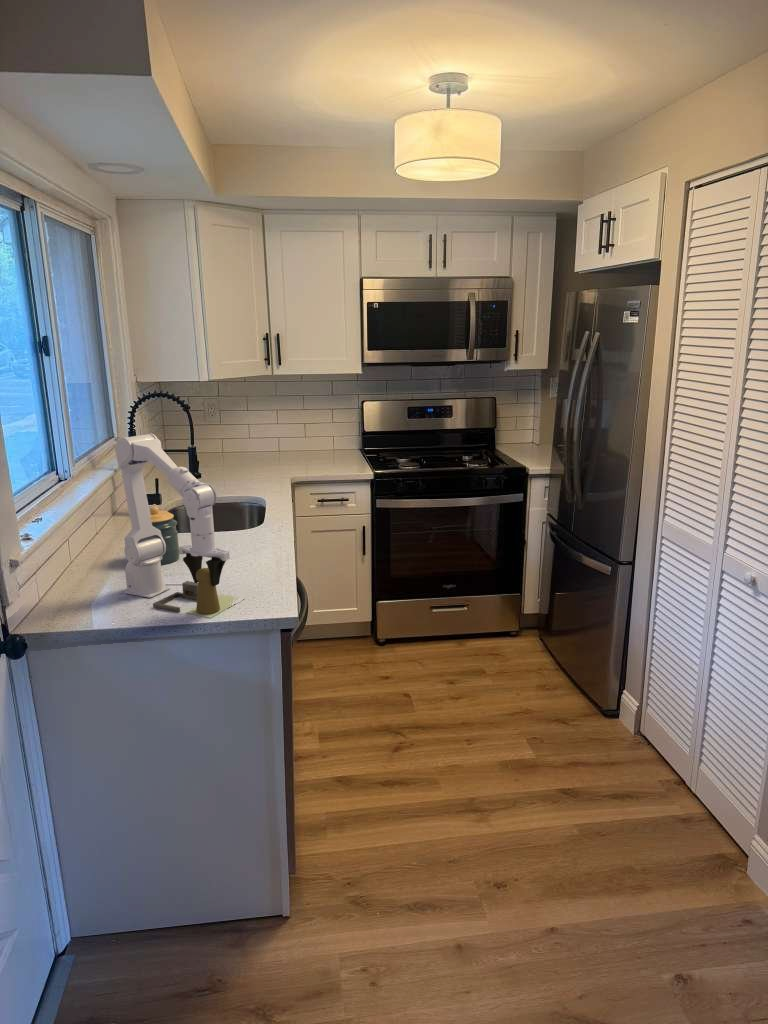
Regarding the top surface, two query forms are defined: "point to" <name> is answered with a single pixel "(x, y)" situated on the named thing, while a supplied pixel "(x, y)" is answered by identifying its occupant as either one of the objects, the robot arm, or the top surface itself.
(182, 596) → the socket
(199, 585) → the brown pepper mill
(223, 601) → the mat
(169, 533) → the canister
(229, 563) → the top surface
